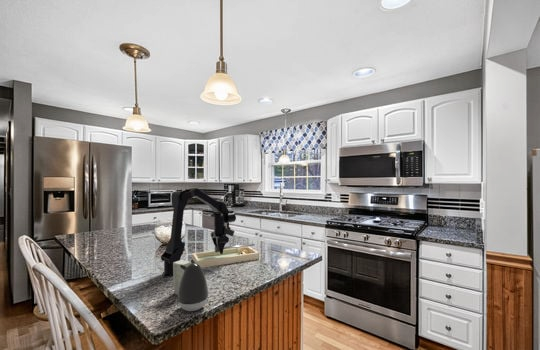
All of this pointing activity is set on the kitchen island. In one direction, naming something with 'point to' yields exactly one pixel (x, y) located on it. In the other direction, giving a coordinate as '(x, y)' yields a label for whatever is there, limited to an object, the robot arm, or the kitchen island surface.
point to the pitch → (224, 257)
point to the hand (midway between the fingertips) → (219, 251)
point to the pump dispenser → (192, 288)
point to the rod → (235, 247)
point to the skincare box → (178, 273)
